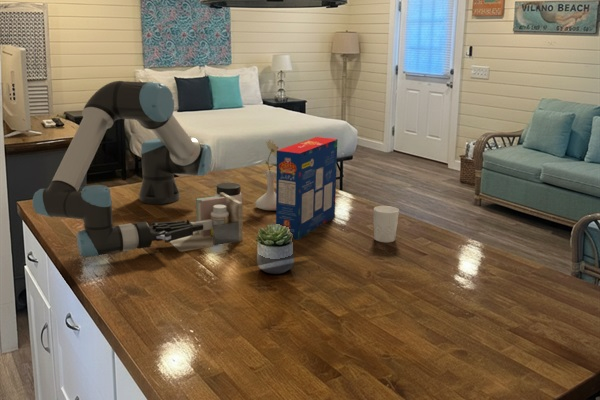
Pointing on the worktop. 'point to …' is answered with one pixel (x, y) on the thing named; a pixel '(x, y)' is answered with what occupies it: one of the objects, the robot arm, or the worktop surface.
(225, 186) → the jar
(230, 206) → the shelf
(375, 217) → the white cup
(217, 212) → the supplement bottle
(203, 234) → the books
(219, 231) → the bookend
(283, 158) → the pasta box
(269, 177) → the flower in vase
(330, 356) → the worktop surface
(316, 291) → the worktop surface
